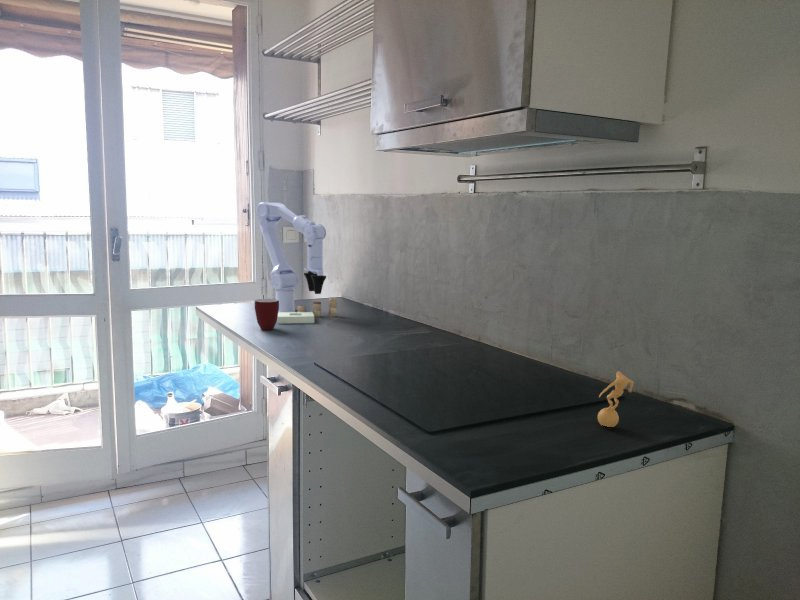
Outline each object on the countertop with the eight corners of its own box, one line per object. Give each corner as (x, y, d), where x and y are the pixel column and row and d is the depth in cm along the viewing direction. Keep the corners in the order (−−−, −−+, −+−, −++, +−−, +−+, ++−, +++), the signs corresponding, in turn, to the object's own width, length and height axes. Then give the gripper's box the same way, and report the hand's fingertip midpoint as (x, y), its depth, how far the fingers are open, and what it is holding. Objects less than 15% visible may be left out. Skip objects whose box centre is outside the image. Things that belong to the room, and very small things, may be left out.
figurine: (615, 421, 125) (619, 364, 123) (638, 431, 119) (643, 372, 117) (584, 426, 121) (588, 368, 119) (606, 437, 116) (611, 376, 114)
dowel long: (328, 315, 237) (328, 297, 236) (336, 315, 237) (336, 297, 236) (329, 316, 234) (329, 298, 233) (336, 316, 235) (337, 298, 233)
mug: (250, 326, 212) (249, 298, 210) (273, 325, 215) (272, 297, 214) (258, 332, 202) (258, 302, 201) (282, 330, 206) (282, 301, 205)
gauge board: (277, 319, 227) (277, 312, 226) (312, 318, 229) (312, 312, 229) (277, 323, 218) (277, 316, 218) (314, 323, 221) (314, 316, 220)
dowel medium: (312, 315, 236) (313, 301, 235) (320, 315, 236) (320, 301, 235) (313, 316, 233) (313, 302, 232) (321, 316, 233) (321, 302, 232)
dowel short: (297, 315, 234) (297, 305, 234) (305, 315, 235) (305, 305, 234) (297, 317, 232) (297, 306, 231) (305, 317, 232) (305, 306, 232)
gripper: (299, 255, 234) (299, 290, 236) (310, 258, 221) (310, 295, 223) (317, 255, 237) (317, 289, 239) (328, 258, 224) (328, 294, 226)
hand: (314, 292), depth 232 cm, fingers open, 7 cm apart
